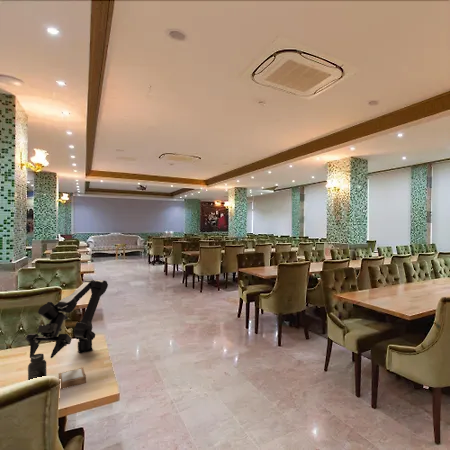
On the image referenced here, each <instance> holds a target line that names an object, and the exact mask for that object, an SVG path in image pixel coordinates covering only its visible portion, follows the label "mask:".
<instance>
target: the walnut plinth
mask: <svg viewBox="0 0 450 450" xmlns="http://www.w3.org/2000/svg"><path fill="white" fill-rule="evenodd" d="M59 379H61V390H64V389H67V387H68V388H71V387H75V386H78V385H82V384H86V383H87V376H86V372H85V369H84V367H79V368H74V369H70V370H66V371H62V372H59V373H58V380H59ZM63 388H64V389H63Z"/></svg>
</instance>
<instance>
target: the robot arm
mask: <svg viewBox="0 0 450 450" xmlns="http://www.w3.org/2000/svg"><path fill="white" fill-rule="evenodd" d="M108 287H109V284H108V281H107V280H102V279H95V280H94V279H85V280H84V281H83V283H82V284H81V285H80V286H78V288H76V289H75V290H74V291H73V292H72V293H71V294H70V295H69V296H66V297H63V298H62V299H60V300H59V301H58V302H57V303H55V304H54V303H53V302H52V301H47V302H46V303H45V304H43V305H42V306H40V307H39V309H38V314H39V315H40V316H41V317H42V318H44V319H45V320H47V321H49V322H48V323H46V324H42V325H41V324H40V325H38V329H37V333H29V334H27V335H26V337H25V338H24V339H25V340H26V341H27V343H29V348H30V350H29V358H30V359H31V356H33V355H35V353H36V352H37V350H38V348H39V347H40V343H41V342H55V345H54V346H53V347H54V348H53V350H52V352H51V355H50V359H53V358H54V357H55V356H56V355H57V354H58V353H59V352H60V351H61V350H62V349H63V348H64V347H67V345H70V344H71V343H72V337H71V336H70V335H69V334H68V333H60V332H62V326H63V324H64V321H65V320H66V321H67V320H68V319H69V317H68V316H67V313H68V314H69V313H72V312H73V311H74V309H75V308H77V304H78V303H79V301H80V300H81V299H82V298H83V297H84V296H85V295H86V294H87V293H88V292H89V291H90V293H91V295H90V298H89V301H88V303H87V306H86V308H85V311H84V314H83V316H82V319H81V320H80V321H79V322H78V321H76V324H75V327H74V328H73V334H74V337H75V339H76V340H78V341H77V351H78V352H79V354H82V353H87V352H92V351H93V350H94V349H93V340H94V339H95V337H96V333H95V332H94V331H92V330H93V323H92V321H93V318H94V316H95V313H96V310H97V308H98V305H99V302H100V300H101V297H102V296H103V295H104V294H105V293H106V291H107V289H108ZM65 313H66V314H65ZM39 333H40V335H41V336H40V335H38V334H39Z"/></svg>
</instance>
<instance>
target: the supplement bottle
mask: <svg viewBox="0 0 450 450" xmlns="http://www.w3.org/2000/svg"><path fill="white" fill-rule="evenodd" d="M47 373H48V372H47V360H46V359H45V355H44V353H36V354H34V355H33V356H31V358H30V362H29V363H28V365H27V381H28V380H30V379H33V378H37V377H42V376H47Z"/></svg>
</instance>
